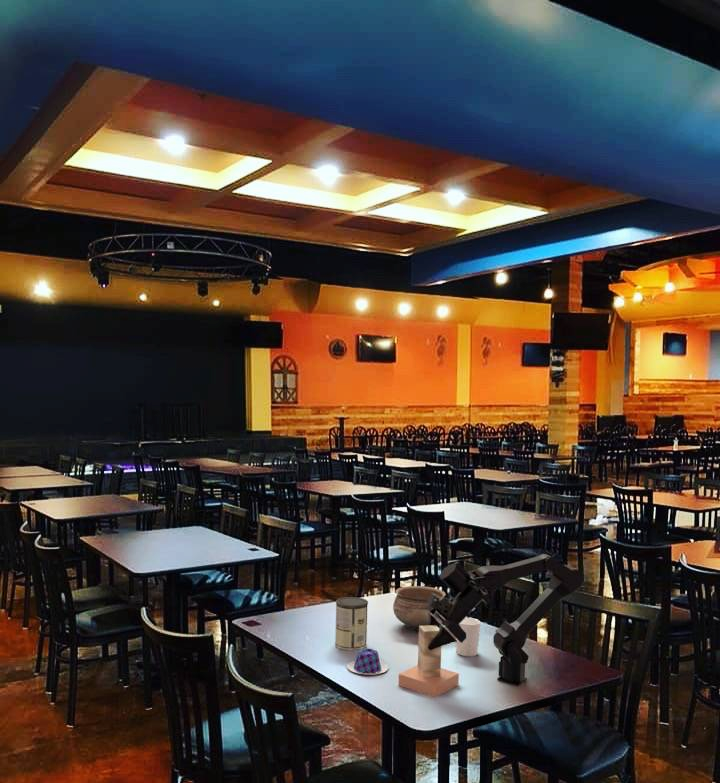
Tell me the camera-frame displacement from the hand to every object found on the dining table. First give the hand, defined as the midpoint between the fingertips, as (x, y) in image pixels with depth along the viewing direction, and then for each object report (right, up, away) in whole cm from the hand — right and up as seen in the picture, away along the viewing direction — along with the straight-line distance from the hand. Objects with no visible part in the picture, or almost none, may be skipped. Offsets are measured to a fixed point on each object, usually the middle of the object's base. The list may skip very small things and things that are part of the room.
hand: (425, 644), depth 195 cm
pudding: (-16, -11, +11) cm, 22 cm away
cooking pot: (+3, -13, +51) cm, 52 cm away
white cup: (+16, -12, +27) cm, 33 cm away
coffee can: (-21, -11, +30) cm, 38 cm away
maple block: (+1, -8, 0) cm, 8 cm away
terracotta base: (+1, -11, 0) cm, 11 cm away
